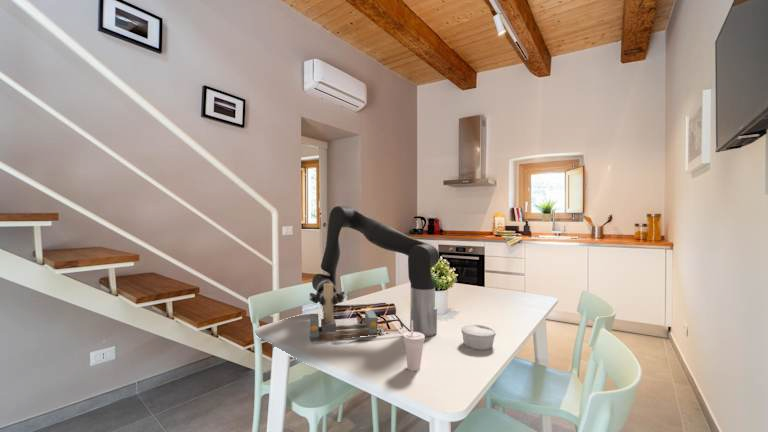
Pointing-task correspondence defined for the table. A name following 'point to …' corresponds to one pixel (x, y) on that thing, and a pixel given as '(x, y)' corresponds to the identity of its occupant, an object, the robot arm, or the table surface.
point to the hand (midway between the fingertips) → (329, 302)
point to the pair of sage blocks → (369, 321)
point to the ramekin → (478, 337)
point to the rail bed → (344, 332)
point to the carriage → (328, 309)
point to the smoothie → (413, 348)
